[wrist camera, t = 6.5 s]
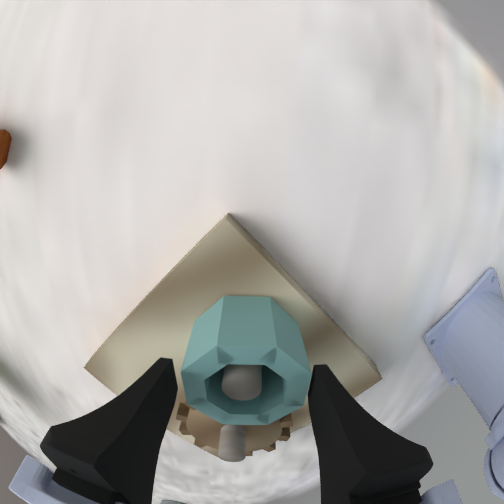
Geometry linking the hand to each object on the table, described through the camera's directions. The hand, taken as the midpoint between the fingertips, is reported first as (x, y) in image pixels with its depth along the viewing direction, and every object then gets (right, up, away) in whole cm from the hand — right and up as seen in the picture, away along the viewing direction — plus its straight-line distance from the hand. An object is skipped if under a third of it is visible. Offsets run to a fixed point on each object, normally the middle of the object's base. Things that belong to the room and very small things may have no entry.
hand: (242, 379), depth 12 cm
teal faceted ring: (0, +1, +3) cm, 3 cm away
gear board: (-1, -2, +6) cm, 7 cm away
